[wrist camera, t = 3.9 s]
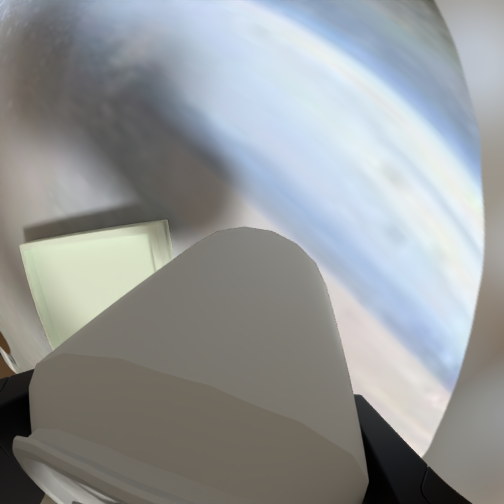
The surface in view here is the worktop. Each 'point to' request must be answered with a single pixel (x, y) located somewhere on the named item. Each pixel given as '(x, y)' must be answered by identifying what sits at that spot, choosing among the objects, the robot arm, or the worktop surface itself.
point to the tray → (90, 272)
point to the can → (203, 388)
